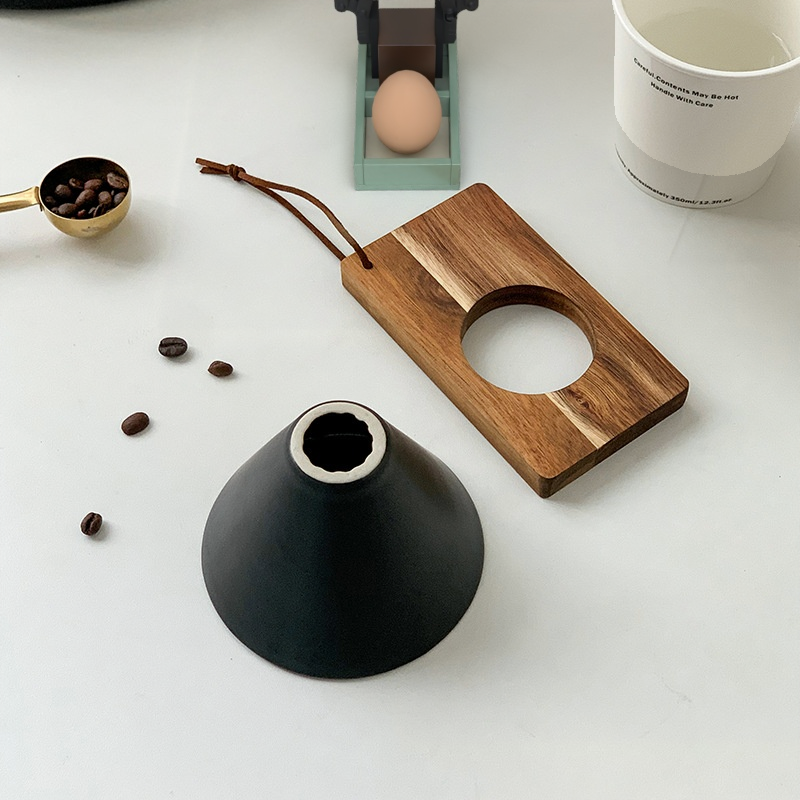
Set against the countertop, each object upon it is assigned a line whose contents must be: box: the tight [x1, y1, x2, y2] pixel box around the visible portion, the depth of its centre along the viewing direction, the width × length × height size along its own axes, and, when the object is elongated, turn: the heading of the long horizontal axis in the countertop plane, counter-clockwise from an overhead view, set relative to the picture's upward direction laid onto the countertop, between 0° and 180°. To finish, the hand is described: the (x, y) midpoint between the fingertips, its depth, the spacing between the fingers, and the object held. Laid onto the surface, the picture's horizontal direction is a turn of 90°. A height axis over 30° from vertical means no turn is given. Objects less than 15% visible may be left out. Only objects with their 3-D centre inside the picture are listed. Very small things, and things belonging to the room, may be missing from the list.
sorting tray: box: [353, 32, 462, 191], centre depth 107 cm, size 9×17×3 cm, turn 0°
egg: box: [372, 70, 442, 154], centre depth 102 cm, size 6×6×8 cm
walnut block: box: [378, 7, 436, 89], centre depth 107 cm, size 5×5×5 cm
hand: (407, 68), depth 109 cm, fingers closed on walnut block, 5 cm apart
